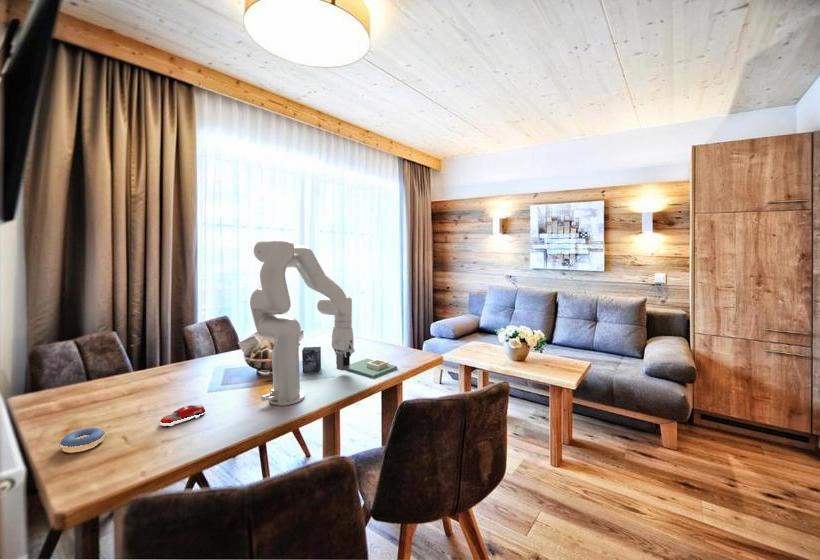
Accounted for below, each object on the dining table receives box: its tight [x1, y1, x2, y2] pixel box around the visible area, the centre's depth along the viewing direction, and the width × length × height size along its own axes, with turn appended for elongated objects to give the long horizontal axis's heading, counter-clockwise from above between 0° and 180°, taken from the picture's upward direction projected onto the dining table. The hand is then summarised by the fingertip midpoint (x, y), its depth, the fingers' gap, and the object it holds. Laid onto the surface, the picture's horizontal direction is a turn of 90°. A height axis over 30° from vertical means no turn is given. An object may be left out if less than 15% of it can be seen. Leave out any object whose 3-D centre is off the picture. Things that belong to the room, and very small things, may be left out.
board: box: [346, 358, 398, 379], centre depth 174 cm, size 16×20×3 cm
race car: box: [159, 404, 206, 423], centre depth 124 cm, size 13×5×4 cm, turn 139°
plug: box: [336, 350, 349, 372], centre depth 166 cm, size 4×4×8 cm
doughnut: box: [59, 427, 106, 447], centre depth 108 cm, size 10×10×5 cm
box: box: [301, 346, 322, 373], centre depth 172 cm, size 8×6×11 cm
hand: (342, 364), depth 166 cm, fingers closed on plug, 4 cm apart
